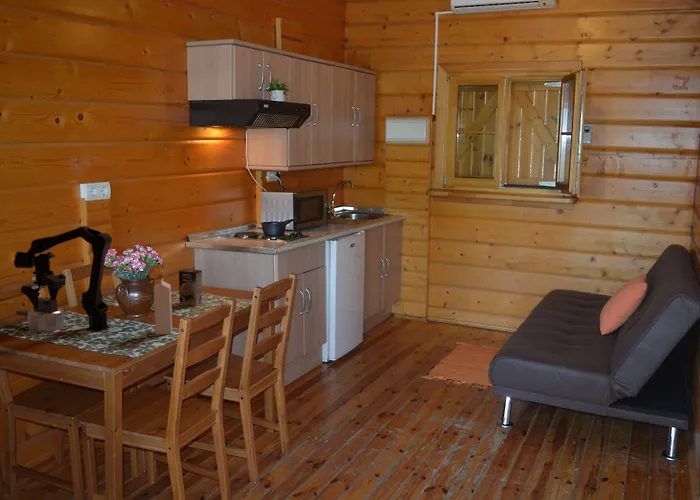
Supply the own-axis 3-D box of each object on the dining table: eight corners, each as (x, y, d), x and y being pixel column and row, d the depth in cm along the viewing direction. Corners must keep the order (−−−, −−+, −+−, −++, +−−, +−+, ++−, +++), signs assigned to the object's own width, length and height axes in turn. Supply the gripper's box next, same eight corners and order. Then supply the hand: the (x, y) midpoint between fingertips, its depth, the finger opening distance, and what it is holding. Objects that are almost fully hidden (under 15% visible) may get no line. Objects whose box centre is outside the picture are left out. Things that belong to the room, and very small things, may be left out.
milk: (172, 330, 276) (171, 277, 272) (170, 334, 270) (169, 280, 266) (156, 330, 275) (155, 277, 271) (155, 334, 269) (153, 280, 265)
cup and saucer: (70, 312, 281) (69, 296, 280) (46, 320, 269) (45, 304, 267) (45, 309, 285) (44, 294, 284) (20, 317, 273) (19, 301, 272)
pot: (70, 324, 282) (69, 310, 281) (47, 332, 270) (46, 318, 269) (31, 319, 288) (30, 305, 287) (6, 327, 276) (5, 313, 275)
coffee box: (178, 304, 316) (177, 270, 314) (186, 301, 322) (185, 268, 320) (196, 306, 314) (195, 272, 311) (203, 303, 320) (202, 269, 317)
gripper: (41, 274, 262) (43, 313, 265) (75, 266, 280) (77, 302, 282) (18, 272, 266) (21, 310, 268) (53, 264, 283) (55, 300, 286)
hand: (45, 306), depth 276 cm, fingers open, 9 cm apart
